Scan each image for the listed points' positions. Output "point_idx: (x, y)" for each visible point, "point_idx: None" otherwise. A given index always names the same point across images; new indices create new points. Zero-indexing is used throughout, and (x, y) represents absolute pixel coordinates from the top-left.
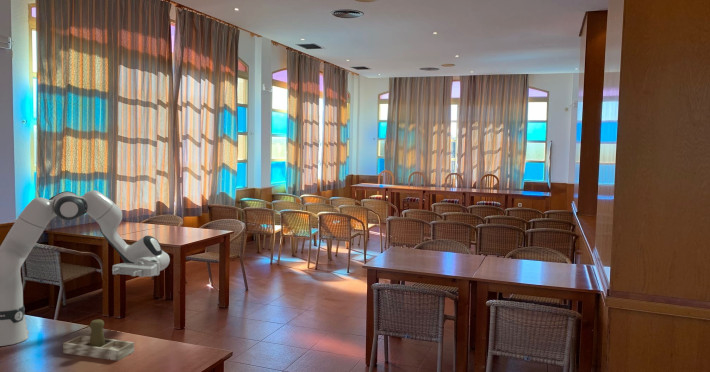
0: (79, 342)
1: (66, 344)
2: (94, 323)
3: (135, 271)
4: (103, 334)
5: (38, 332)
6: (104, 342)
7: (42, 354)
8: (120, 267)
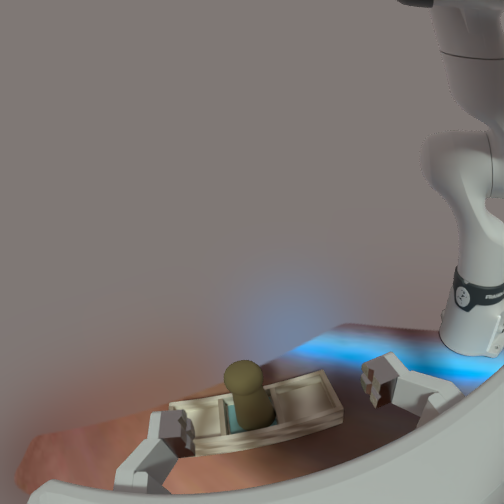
0: (328, 408)
1: (313, 373)
2: (234, 362)
3: (156, 438)
4: (236, 405)
5: (490, 371)
6: (237, 418)
7: (349, 360)
8: (443, 414)
